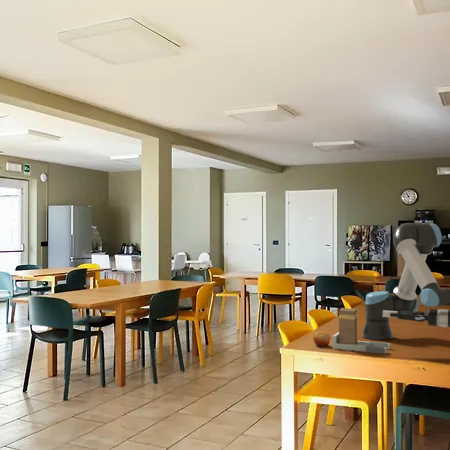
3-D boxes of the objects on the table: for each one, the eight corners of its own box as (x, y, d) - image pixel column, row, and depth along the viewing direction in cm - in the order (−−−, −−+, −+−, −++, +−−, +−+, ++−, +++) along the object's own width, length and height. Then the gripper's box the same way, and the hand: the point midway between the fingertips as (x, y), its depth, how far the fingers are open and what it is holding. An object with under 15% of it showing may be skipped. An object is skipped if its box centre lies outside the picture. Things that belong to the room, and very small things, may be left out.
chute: (338, 344, 269) (338, 331, 269) (390, 348, 259) (390, 335, 259) (332, 349, 257) (332, 336, 258) (386, 354, 247) (386, 340, 247)
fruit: (327, 340, 271) (328, 327, 267) (330, 351, 264) (332, 339, 260) (310, 340, 271) (312, 328, 267) (313, 351, 264) (315, 339, 260)
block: (342, 345, 265) (342, 308, 265) (357, 346, 262) (357, 309, 262) (339, 348, 259) (338, 310, 259) (354, 349, 256) (354, 311, 256)
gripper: (436, 328, 238) (380, 324, 248) (438, 323, 250) (385, 319, 260) (436, 311, 238) (380, 307, 248) (438, 307, 249) (385, 303, 259)
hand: (383, 313), depth 254 cm, fingers closed
